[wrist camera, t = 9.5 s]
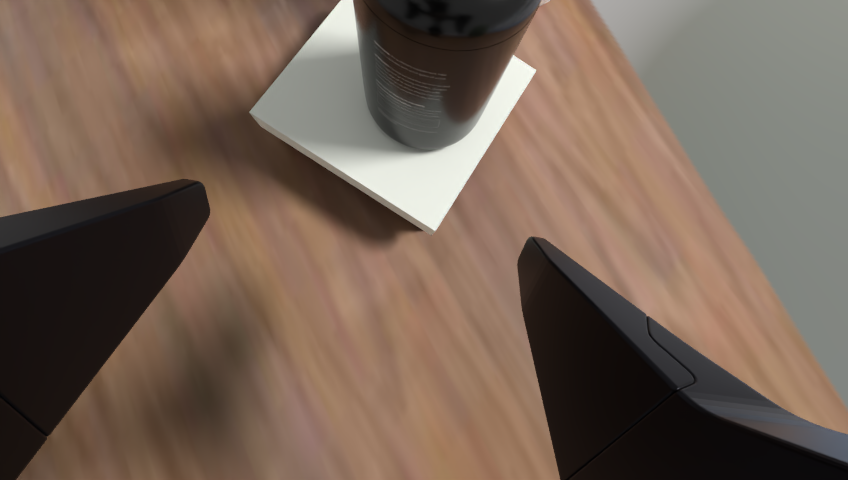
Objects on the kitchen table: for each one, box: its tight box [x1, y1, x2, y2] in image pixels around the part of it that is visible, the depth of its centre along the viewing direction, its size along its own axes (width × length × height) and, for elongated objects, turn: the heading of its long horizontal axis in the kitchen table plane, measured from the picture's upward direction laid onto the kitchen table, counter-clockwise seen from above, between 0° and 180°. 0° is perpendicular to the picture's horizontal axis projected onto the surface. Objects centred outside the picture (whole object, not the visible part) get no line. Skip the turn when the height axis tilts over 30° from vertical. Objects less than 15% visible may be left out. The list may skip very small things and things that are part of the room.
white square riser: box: [249, 0, 536, 236], centre depth 20 cm, size 12×12×4 cm
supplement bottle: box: [353, 0, 542, 150], centre depth 13 cm, size 7×7×12 cm
